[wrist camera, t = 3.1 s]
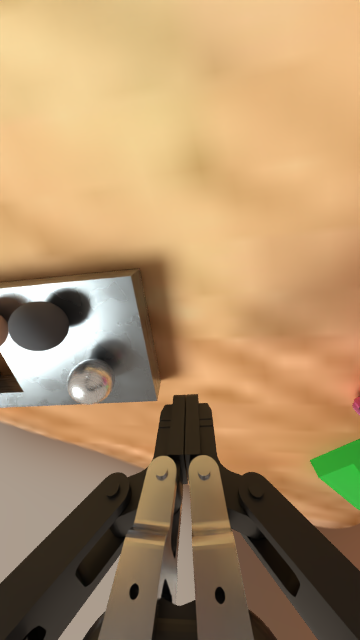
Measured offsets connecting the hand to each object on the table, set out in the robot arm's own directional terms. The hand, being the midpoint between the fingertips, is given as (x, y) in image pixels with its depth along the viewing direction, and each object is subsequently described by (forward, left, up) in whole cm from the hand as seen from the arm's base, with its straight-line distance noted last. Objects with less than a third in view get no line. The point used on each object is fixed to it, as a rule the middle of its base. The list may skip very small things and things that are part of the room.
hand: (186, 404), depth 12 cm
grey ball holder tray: (-2, -12, -6) cm, 14 cm away
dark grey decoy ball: (-5, -9, -2) cm, 11 cm away
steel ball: (0, -7, -2) cm, 7 cm away
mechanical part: (+20, +19, -7) cm, 29 cm away
